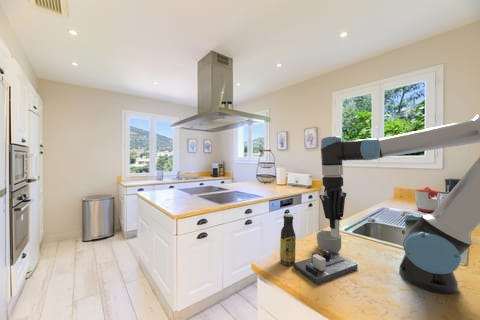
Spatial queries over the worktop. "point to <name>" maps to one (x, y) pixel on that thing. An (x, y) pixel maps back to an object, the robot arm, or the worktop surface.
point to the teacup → (328, 241)
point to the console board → (333, 267)
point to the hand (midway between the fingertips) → (335, 236)
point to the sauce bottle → (287, 241)
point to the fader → (319, 262)
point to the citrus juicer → (426, 199)
